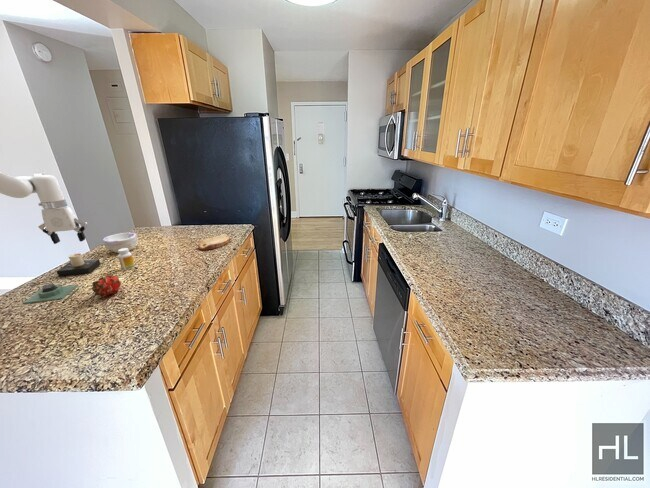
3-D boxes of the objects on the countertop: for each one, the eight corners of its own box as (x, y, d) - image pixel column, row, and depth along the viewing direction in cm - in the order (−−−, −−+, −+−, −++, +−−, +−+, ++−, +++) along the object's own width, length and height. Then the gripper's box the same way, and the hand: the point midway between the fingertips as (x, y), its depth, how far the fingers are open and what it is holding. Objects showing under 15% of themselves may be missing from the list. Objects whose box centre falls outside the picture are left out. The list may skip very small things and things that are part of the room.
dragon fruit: (98, 306, 100) (118, 293, 111) (115, 292, 99) (133, 281, 111) (79, 290, 98) (102, 279, 109) (96, 276, 97) (117, 266, 109)
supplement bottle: (137, 265, 129) (132, 247, 126) (131, 270, 124) (125, 251, 121) (126, 265, 129) (120, 247, 125) (119, 270, 124) (113, 251, 120)
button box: (25, 307, 96) (20, 298, 95) (44, 293, 105) (39, 285, 104) (64, 302, 99) (60, 293, 98) (79, 289, 108) (75, 280, 107)
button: (41, 293, 99) (39, 289, 98) (47, 288, 102) (45, 284, 102) (52, 291, 100) (50, 287, 99) (58, 287, 103) (57, 283, 102)
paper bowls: (146, 244, 154) (142, 232, 151) (125, 255, 140) (121, 241, 137) (122, 244, 155) (118, 231, 152) (99, 254, 141) (94, 240, 138)
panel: (58, 277, 118) (56, 270, 117) (72, 267, 127) (69, 261, 126) (90, 273, 121) (87, 267, 120) (100, 264, 130) (98, 258, 129)
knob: (70, 267, 120) (65, 257, 118) (75, 263, 124) (71, 253, 122) (81, 266, 121) (77, 255, 119) (86, 262, 125) (82, 252, 123)
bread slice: (230, 237, 166) (229, 231, 165) (231, 247, 151) (231, 241, 149) (199, 240, 160) (198, 235, 159) (198, 251, 144) (196, 245, 143)
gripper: (23, 208, 106) (41, 246, 113) (73, 205, 110) (88, 242, 117) (36, 204, 113) (52, 240, 119) (83, 201, 117) (96, 236, 124)
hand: (70, 241), depth 118 cm, fingers open, 9 cm apart
